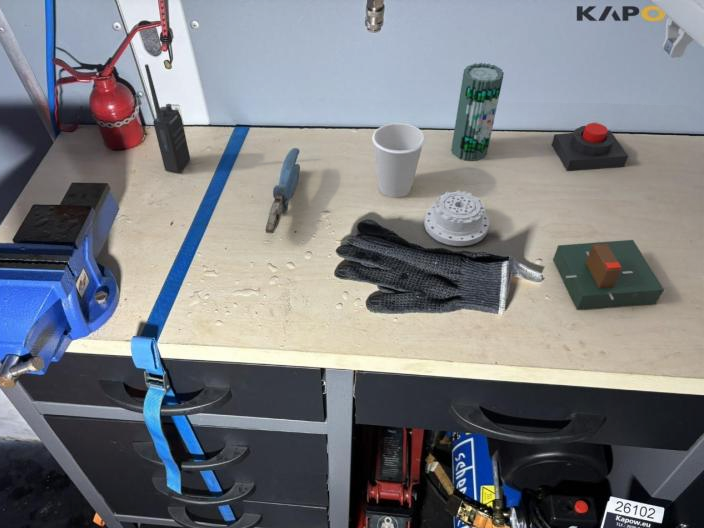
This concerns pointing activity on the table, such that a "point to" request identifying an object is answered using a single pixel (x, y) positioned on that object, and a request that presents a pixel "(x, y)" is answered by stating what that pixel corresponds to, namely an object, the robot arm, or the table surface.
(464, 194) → the mechanical component
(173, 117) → the walkie-talkie
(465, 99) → the can
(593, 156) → the switch block
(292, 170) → the pliers
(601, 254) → the handle
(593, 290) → the panel
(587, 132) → the button
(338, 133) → the table surface
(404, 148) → the dixie cup
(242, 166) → the table surface
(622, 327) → the table surface
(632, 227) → the table surface
